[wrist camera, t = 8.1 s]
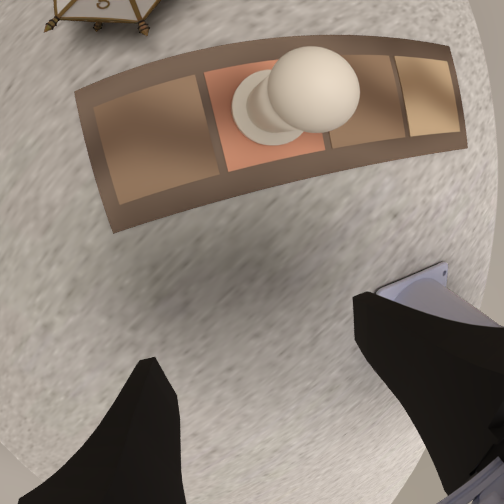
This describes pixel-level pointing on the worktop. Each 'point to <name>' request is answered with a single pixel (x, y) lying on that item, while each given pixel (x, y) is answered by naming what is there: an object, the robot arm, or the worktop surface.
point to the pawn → (296, 97)
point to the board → (240, 147)
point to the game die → (103, 12)
